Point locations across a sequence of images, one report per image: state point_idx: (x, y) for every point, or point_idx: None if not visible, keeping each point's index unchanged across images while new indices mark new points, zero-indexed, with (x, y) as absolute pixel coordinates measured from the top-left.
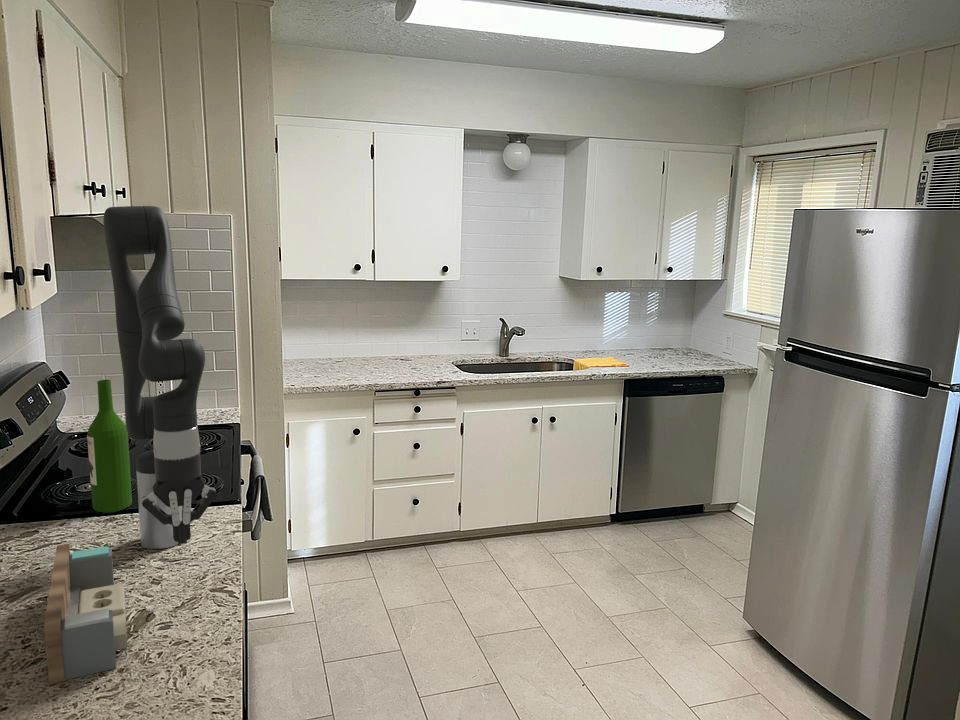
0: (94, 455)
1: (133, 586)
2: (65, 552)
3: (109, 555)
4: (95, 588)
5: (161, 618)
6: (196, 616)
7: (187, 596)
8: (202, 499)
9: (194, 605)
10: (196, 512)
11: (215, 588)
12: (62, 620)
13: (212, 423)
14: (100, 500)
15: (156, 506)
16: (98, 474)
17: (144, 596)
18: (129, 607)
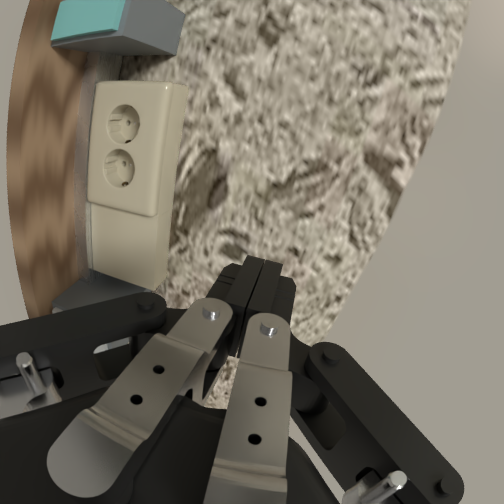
0: None
1: (219, 29)
2: (29, 41)
3: (119, 30)
4: (116, 87)
5: (234, 213)
6: (295, 250)
7: (310, 149)
8: (360, 458)
9: (309, 202)
10: (300, 426)
11: (378, 154)
12: (52, 304)
13: None
14: None
15: (67, 376)
16: None
17: (227, 89)
18: (190, 124)
